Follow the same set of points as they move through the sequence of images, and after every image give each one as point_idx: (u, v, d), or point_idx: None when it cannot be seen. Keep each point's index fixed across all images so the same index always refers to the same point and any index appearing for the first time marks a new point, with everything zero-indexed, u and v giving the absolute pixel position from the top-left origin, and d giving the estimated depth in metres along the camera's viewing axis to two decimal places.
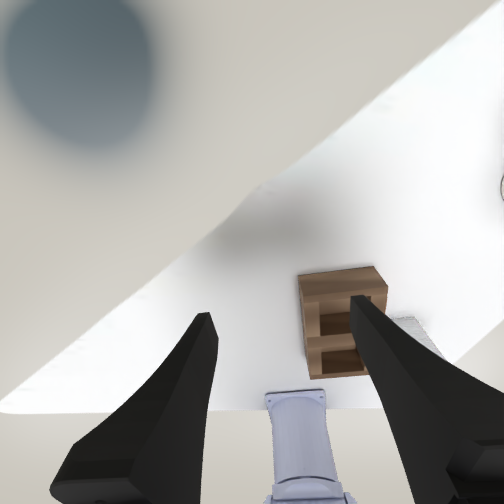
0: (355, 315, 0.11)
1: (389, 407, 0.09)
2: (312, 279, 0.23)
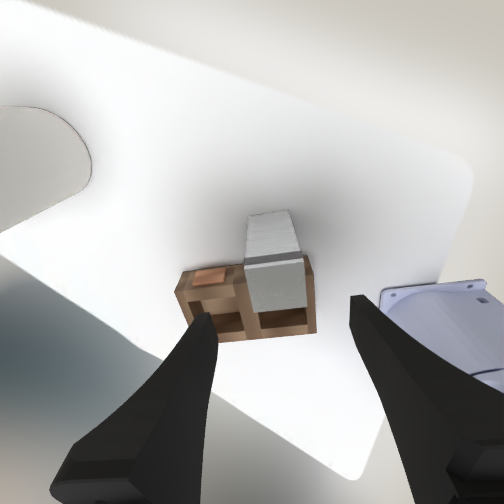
0: (355, 315, 0.11)
1: (389, 407, 0.09)
2: None
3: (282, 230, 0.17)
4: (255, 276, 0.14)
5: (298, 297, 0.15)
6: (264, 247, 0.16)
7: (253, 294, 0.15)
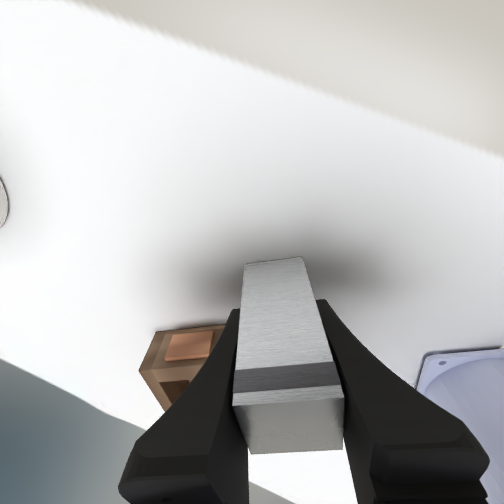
0: None
1: None
2: None
3: (297, 302, 0.11)
4: (254, 413, 0.08)
5: (328, 439, 0.09)
6: (269, 343, 0.09)
7: (250, 435, 0.09)
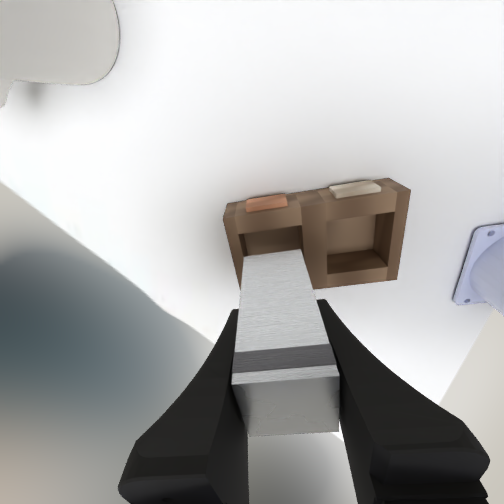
0: None
1: (339, 411, 0.09)
2: None
3: (295, 291, 0.11)
4: (252, 393, 0.08)
5: (325, 420, 0.09)
6: (268, 328, 0.10)
7: (248, 416, 0.09)
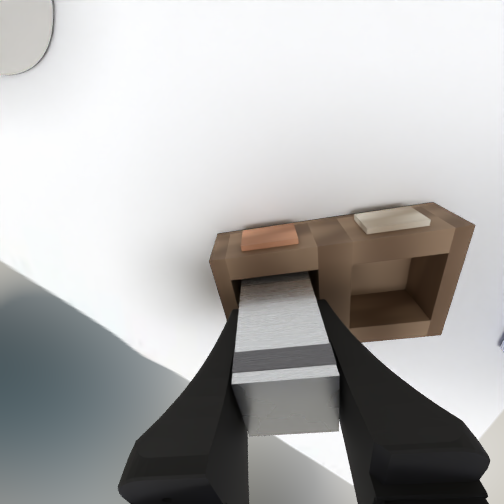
0: None
1: (339, 410, 0.09)
2: None
3: (295, 291, 0.11)
4: (252, 393, 0.08)
5: (325, 420, 0.09)
6: (268, 328, 0.10)
7: (248, 415, 0.09)
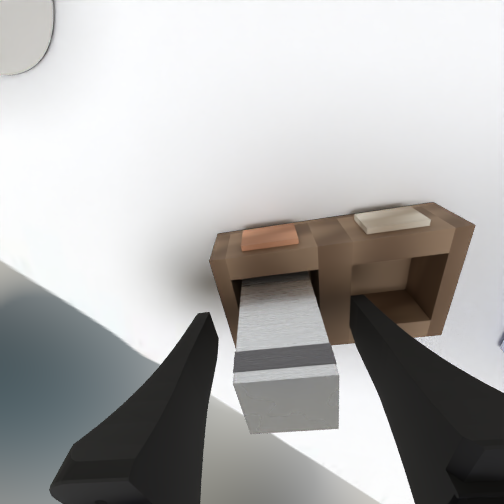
0: (355, 315, 0.11)
1: (389, 407, 0.09)
2: None
3: (295, 290, 0.11)
4: (253, 392, 0.08)
5: (324, 418, 0.09)
6: (268, 328, 0.10)
7: (249, 414, 0.09)
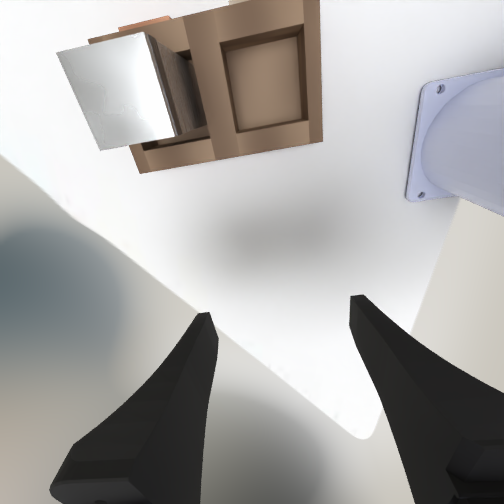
0: (355, 315, 0.11)
1: (389, 407, 0.09)
2: None
3: None
4: (79, 68, 0.09)
5: (156, 115, 0.10)
6: None
7: (87, 110, 0.10)
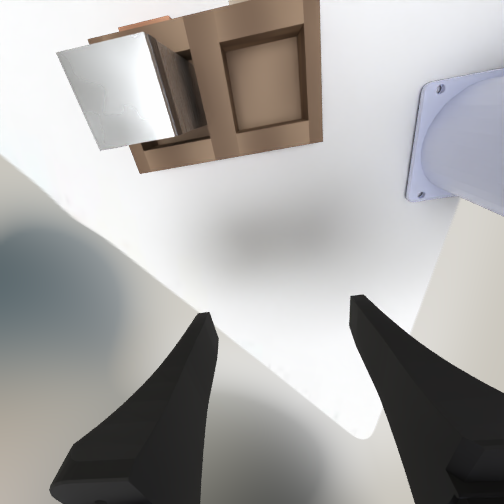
0: (355, 315, 0.11)
1: (389, 407, 0.09)
2: None
3: None
4: (79, 68, 0.09)
5: (156, 115, 0.10)
6: None
7: (87, 110, 0.10)
